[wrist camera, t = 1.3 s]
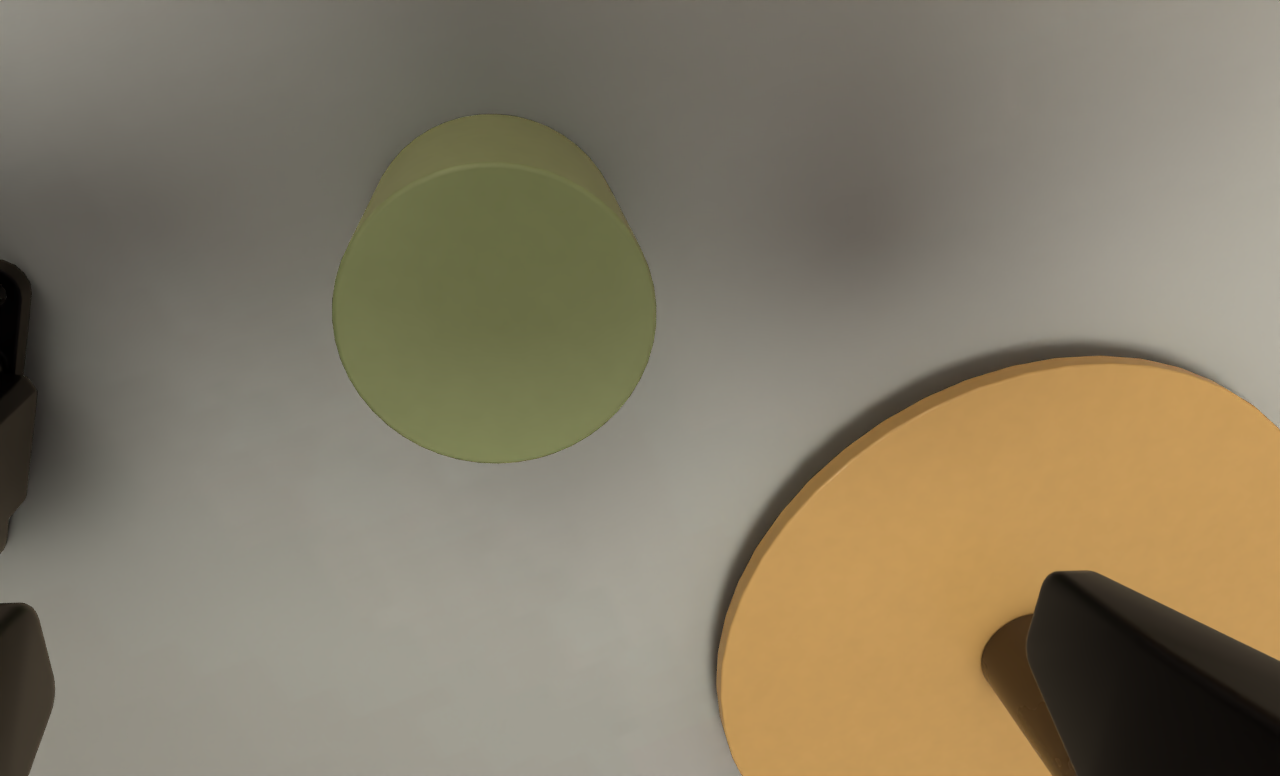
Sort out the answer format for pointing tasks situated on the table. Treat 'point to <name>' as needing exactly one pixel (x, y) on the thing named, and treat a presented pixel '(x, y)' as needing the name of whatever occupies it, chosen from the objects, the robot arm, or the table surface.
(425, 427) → the candle
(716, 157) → the table surface
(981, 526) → the lid
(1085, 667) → the robot arm
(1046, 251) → the table surface
